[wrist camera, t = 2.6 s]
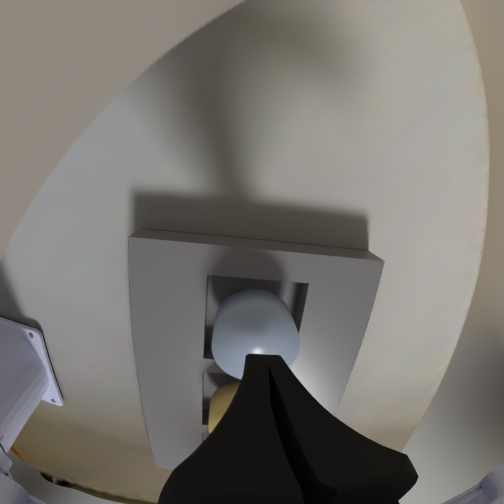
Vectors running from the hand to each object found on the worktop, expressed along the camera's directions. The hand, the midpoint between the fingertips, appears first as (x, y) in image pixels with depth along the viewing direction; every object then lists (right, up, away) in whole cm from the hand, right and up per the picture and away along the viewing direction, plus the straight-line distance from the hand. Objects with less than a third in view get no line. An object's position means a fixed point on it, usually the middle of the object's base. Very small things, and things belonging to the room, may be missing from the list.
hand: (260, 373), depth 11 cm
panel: (-1, -4, +7) cm, 8 cm away
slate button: (0, +1, +4) cm, 4 cm away
